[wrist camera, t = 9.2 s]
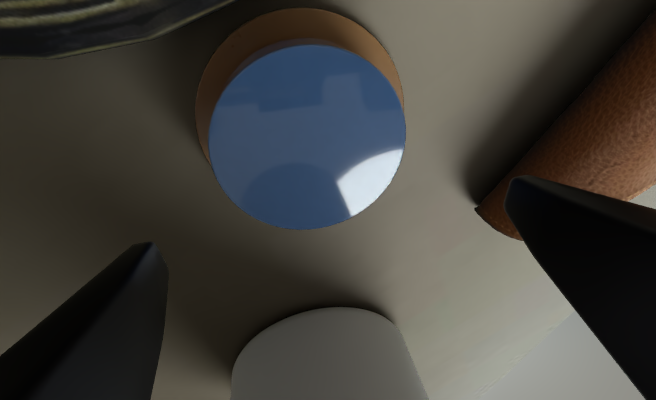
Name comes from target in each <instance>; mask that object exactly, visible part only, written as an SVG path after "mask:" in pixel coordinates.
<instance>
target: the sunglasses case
mask: <svg viewBox="0 0 656 400" xmlns="http://www.w3.org/2000/svg"><path fill="white" fill-rule="evenodd" d="M524 175H532V176H536V177H539V178H543V179H547V180H550V181H554V182H558V183H561V184H565V185H569V186H572V187H576V188H579V189H583V190H587V191H590V192H594V193H598V194H601V195H605V196H609V197H612V198H616V199H620V200H623V201H627V202H628V201H629V200H631V199H633V198H634V197H636V196H638V195H640V194H641V193H643V192H644V191H646V190H647V189H649V188H650V187H651V186H653V185H655V184H656V8H655V10H654V11H653V12H652V13H651V14H650V15H649V17H648V18H647V19H646V20H645V21H644V22H643V24H642V25H641V26H640V27H639V28H638V29H637V30H636V31H635V32H634V33H633V34H632V35H631V37H630V38H629V39H628V40H627V41H626V42H625V43H624V44H623V45H622V46H621V47H620V49H619V50H618V51H617V52H616V53H615V54H614V55H613V57H612V58H611V59H610V60H609V61H608V62H607V63H606V65H605V66H604V67H603V68H602V69H601V71H600V72H599V73H598V74H597V75H596V77H595V78H594V79H593V80H592V81H591V83H590V84H589V85H588V86H587V87H586V89H585V90H584V91H583V92H582V93H581V95H580V96H579V97H578V98H577V99H576V100H575V101H574V102H573V103H572V104H571V105H570V106H569V107H568V108H567V109H566V110H565V111H564V112H563V113H562V114H561V115H560V116H559V117H558V118H557V119H556V121H555V122H554V123H553V124H552V125H551V126H550V127H549V128H548V130H547V131H546V132H545V133H544V134H543V135H542V137H541V138H540V139H539V140H538V141H537V142H536V143H535V144H534V146H533V147H532V148H531V149H530V150H529V151H528V152H527V154H526V155H525V156H524V157H523V158H522V159H521V160H520V161H519V162H518V163H517V164H516V165H515V167H514V168H513V169H512V170H511V171H510V172H509V173H508V174H507V175H506V176H505V177H504V178H503V180H502V181H501V182H500V183H499V184H498V185H497V187H496V188H495V189H494V190H493V191H492V192H491V193H490V194H489V195H488V196H487V197H486V198H485V199H484V200H483V201H482V203H481V204H480V206H478V207H476V208H474V209H475V211H476V212H477V214H478V215H479V216H480V217H481V218H482V219H483V220H484V221H485V222H487V223H488V224H489V225H490V226H491V227H492V228H494V229H495V230H497V231H499V232H501V233H503V234H504V235H506V236H508V237H511V238H514V239H517V240H521V241H523V239H522V238H521V236H520V234H519V233H518V231H517V230H516V228H515V227H514V225H513V223H512V222H511V220H510V219H509V217H508V215H507V214H506V212H505V210H504V200H505V197H506V193H507V190H508V187H509V183H510V181H511V180H512V179H513V178H514V177H518V176H524Z"/></svg>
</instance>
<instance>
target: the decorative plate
mask: <svg viewBox="0 0 656 400" xmlns="http://www.w3.org/2000/svg"><path fill="white" fill-rule="evenodd" d="M237 1H239V0H0V59H60V58H65V57H70V56H75V55H80V54H85V53H90V52H95V51H100V50H104V49H109V48H114V47H119V46H124V45H129V44H134V43H139V42H144V41H149V40H154V39H157V38H159V37H161V36H163V35H165V34H168V33H170V32H172V31H174V30H176V29H178V28H181V27H183V26H185V25H187V24H189V23H191V22H194V21H196V20H198V19H200V18H202V17H204V16H207V15H209V14H211V13H213V12H215V11H217V10H220V9H222V8H224V7H226V6H228V5H230V4H233V3H235V2H237Z"/></svg>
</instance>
